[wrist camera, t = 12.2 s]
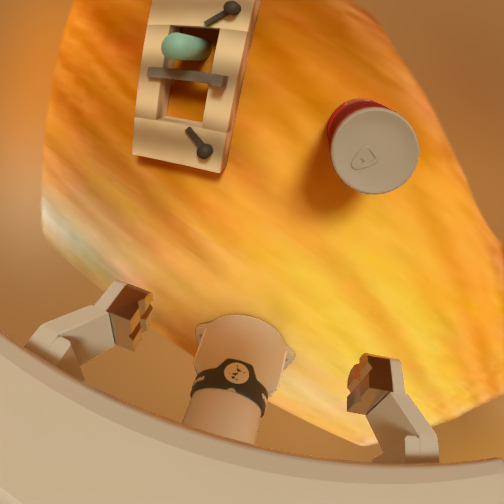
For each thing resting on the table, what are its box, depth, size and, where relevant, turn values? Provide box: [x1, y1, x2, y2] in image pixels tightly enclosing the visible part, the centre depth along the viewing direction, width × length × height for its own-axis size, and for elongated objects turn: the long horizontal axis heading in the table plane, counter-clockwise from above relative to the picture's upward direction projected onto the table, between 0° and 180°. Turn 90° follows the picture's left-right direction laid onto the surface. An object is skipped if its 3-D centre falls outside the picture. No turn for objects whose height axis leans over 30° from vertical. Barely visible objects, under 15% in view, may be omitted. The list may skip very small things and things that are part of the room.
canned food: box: [328, 99, 419, 194], centre depth 28 cm, size 8×8×11 cm
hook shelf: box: [132, 0, 261, 173], centre depth 30 cm, size 22×12×5 cm, turn 168°
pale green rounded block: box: [161, 33, 211, 61], centre depth 28 cm, size 3×3×7 cm
